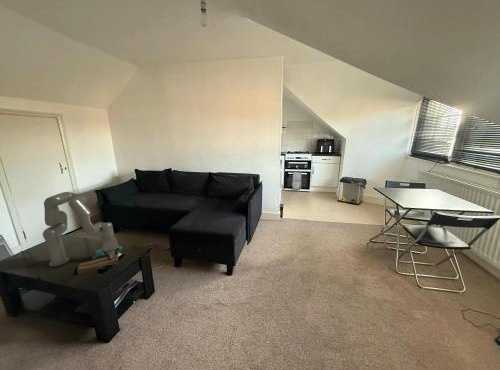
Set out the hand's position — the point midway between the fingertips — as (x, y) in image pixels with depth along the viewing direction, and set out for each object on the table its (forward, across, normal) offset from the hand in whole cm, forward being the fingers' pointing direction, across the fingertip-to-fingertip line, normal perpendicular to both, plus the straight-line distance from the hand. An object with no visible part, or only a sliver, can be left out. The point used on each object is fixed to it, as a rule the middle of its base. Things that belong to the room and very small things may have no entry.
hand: (112, 256), depth 182 cm
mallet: (+1, 0, -5) cm, 5 cm away
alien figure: (+2, -3, +13) cm, 13 cm away
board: (+1, -9, -8) cm, 12 cm away
